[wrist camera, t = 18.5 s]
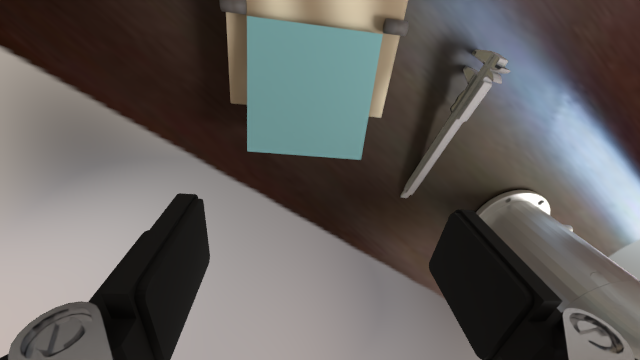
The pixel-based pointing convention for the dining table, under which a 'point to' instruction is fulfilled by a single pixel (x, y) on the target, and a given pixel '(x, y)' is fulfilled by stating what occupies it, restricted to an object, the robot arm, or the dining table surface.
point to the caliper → (460, 111)
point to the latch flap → (309, 88)
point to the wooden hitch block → (324, 10)
